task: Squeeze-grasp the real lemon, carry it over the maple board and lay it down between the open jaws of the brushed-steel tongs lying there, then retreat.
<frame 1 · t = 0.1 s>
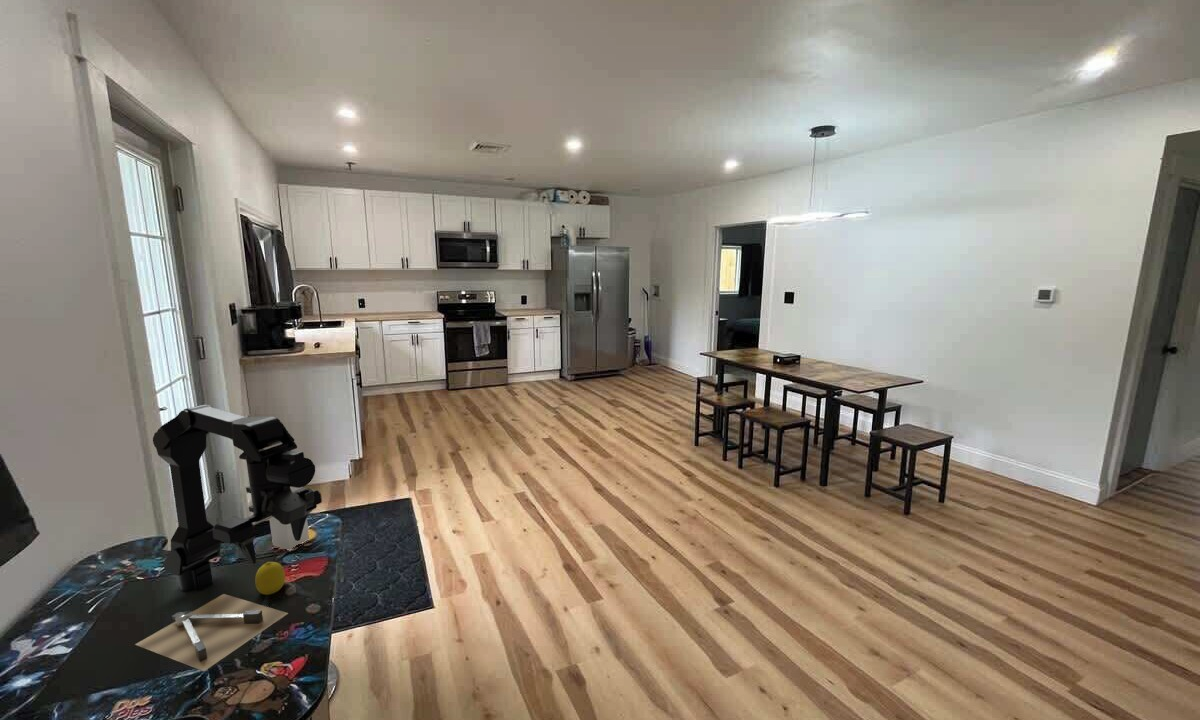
hand: (276, 551, 99), 14 cm above the table, fingers open, 9 cm apart
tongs: (184, 623, 98), resting on board
board: (215, 633, 96), on the table
lemon: (272, 595, 108), on the table
milk: (291, 544, 130), on the table
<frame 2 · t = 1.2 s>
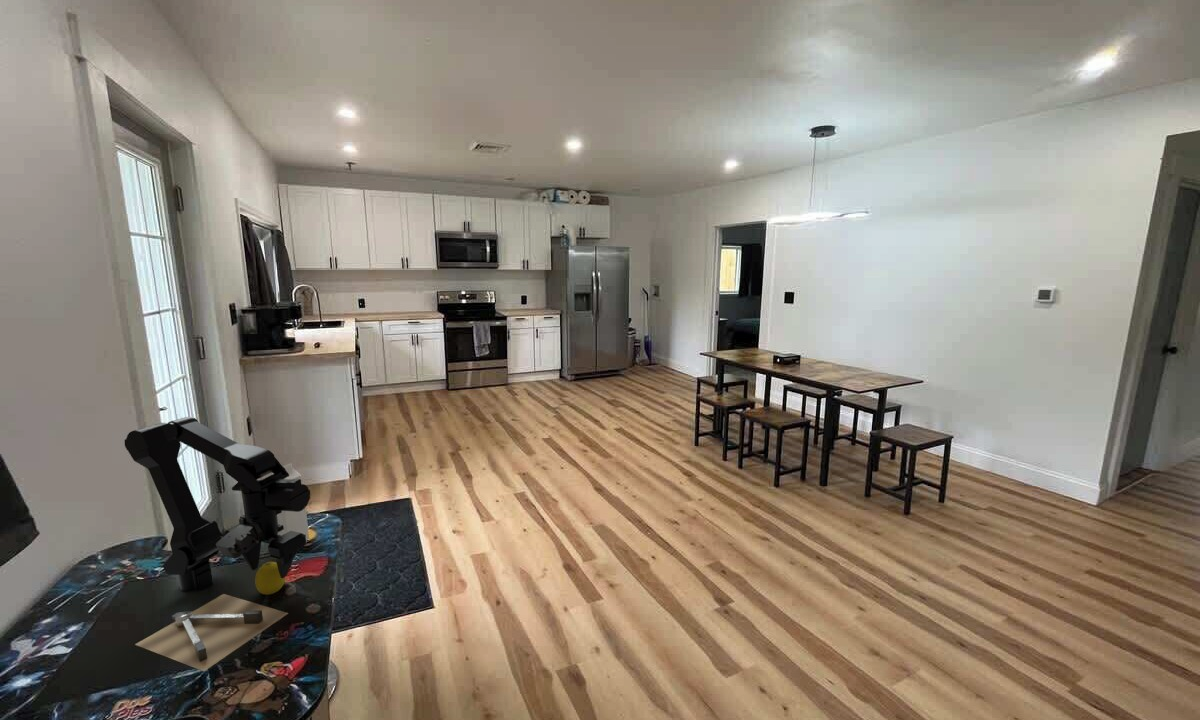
hand: (269, 573, 108), 5 cm above the table, fingers open, 9 cm apart
nothing on the table moved.
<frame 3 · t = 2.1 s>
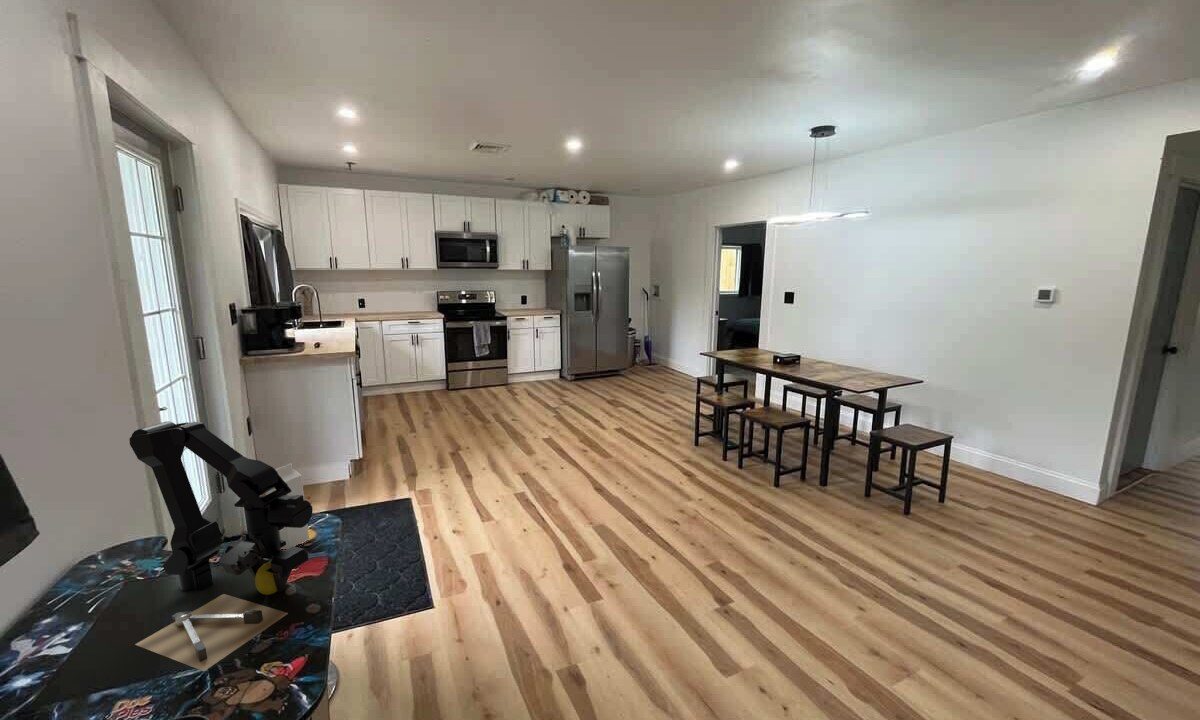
hand: (271, 588, 108), 2 cm above the table, fingers closed on lemon, 5 cm apart
lemon: (272, 595, 108), on the table, touching gripper
everything else where it was.
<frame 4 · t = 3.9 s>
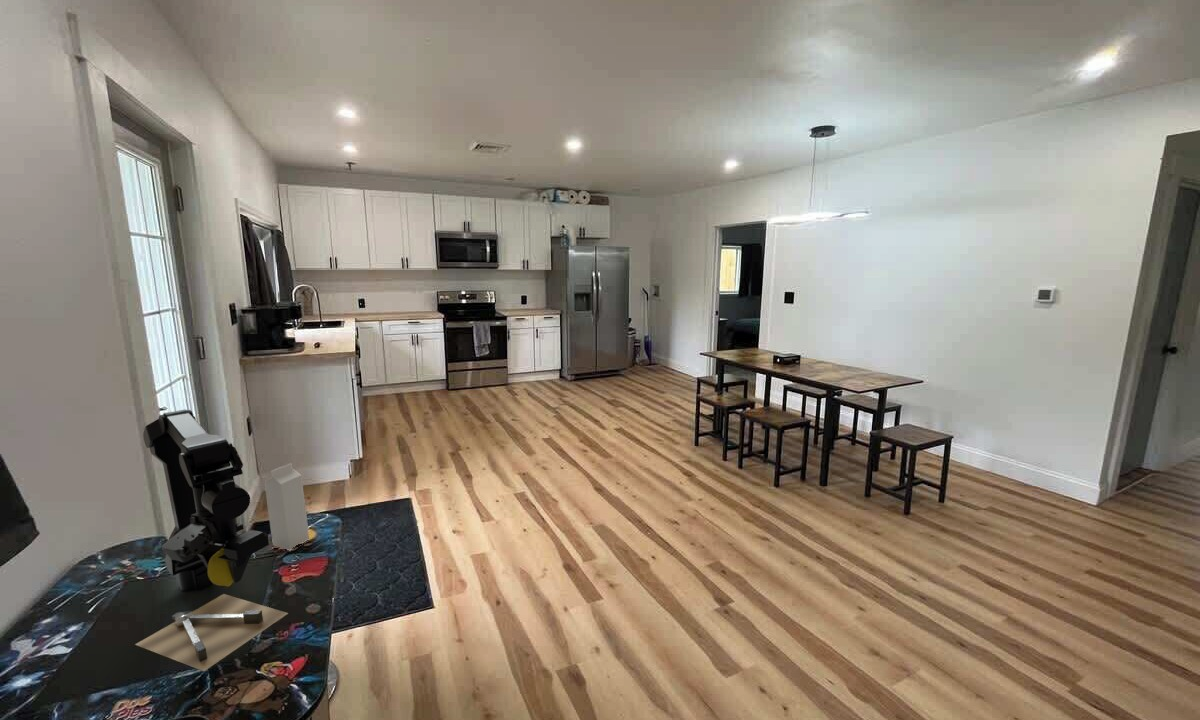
hand: (227, 579, 95), 12 cm above the table, fingers closed on lemon, 5 cm apart
lemon: (228, 586, 95), point 10 cm above the table, touching gripper
everything else where it was.
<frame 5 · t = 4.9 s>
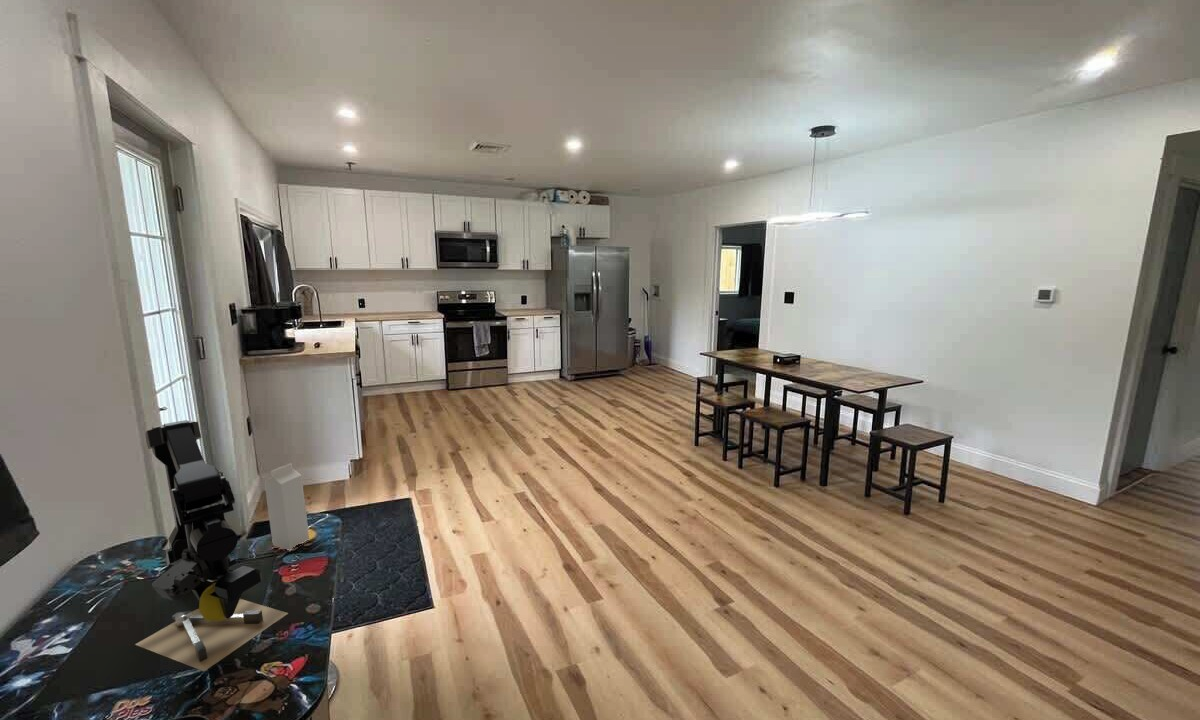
hand: (219, 613, 93), 6 cm above the table, fingers closed on lemon, 5 cm apart
lemon: (220, 621, 94), point 4 cm above the table, touching gripper
everything else where it was.
when the fingers open (4 cm above the table, at t = 5.7 s): lemon stays where it is, resting on board.
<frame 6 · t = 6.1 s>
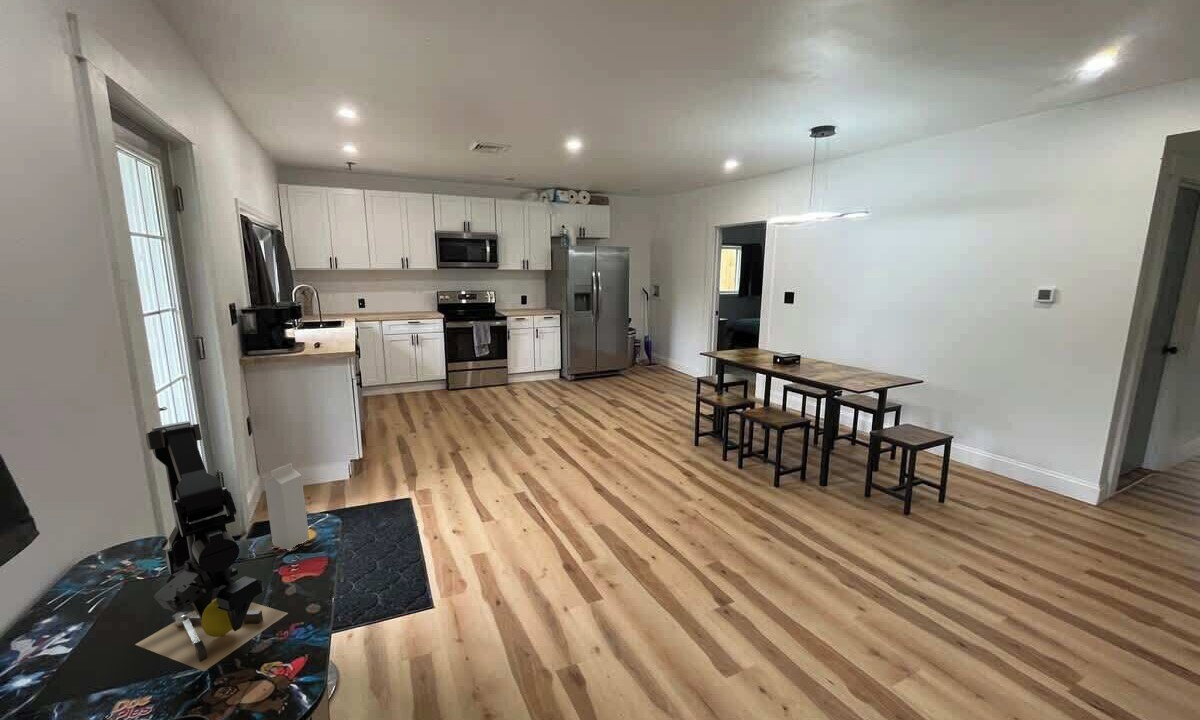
hand: (221, 624, 94), 4 cm above the table, fingers open, 9 cm apart
lemon: (223, 636, 94), point 1 cm above the table, touching board
everything else where it was.
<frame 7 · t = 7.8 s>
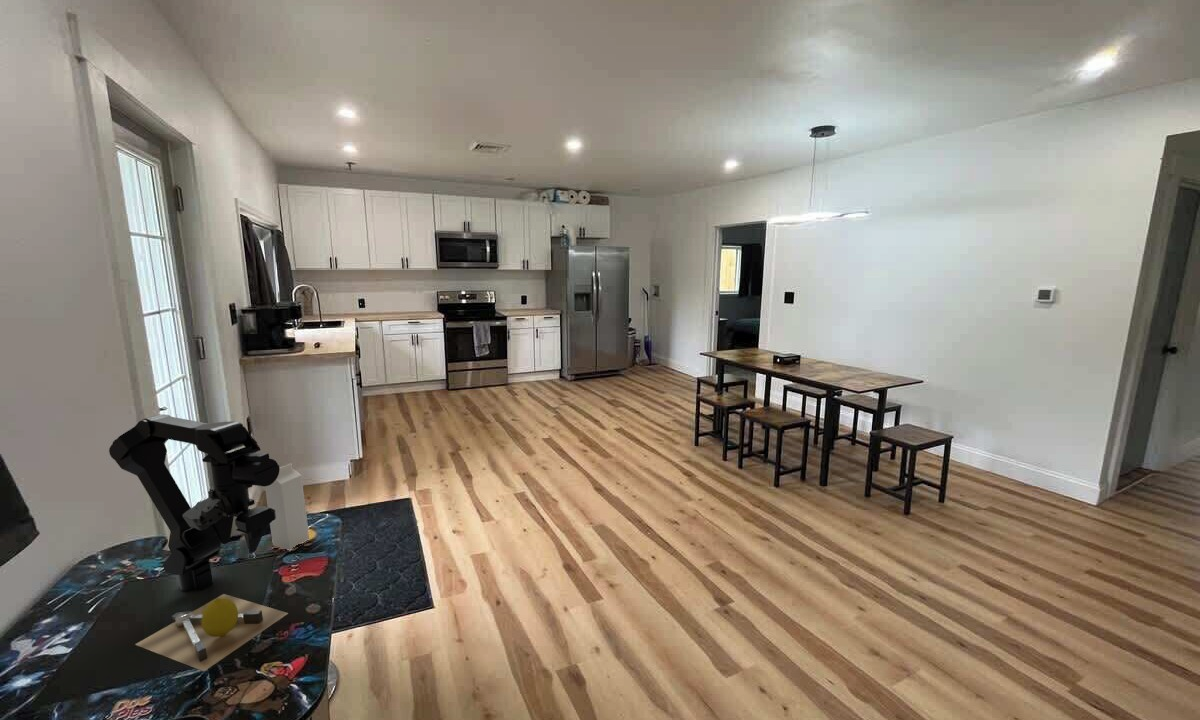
hand: (239, 547, 106), 12 cm above the table, fingers open, 9 cm apart
nothing on the table moved.
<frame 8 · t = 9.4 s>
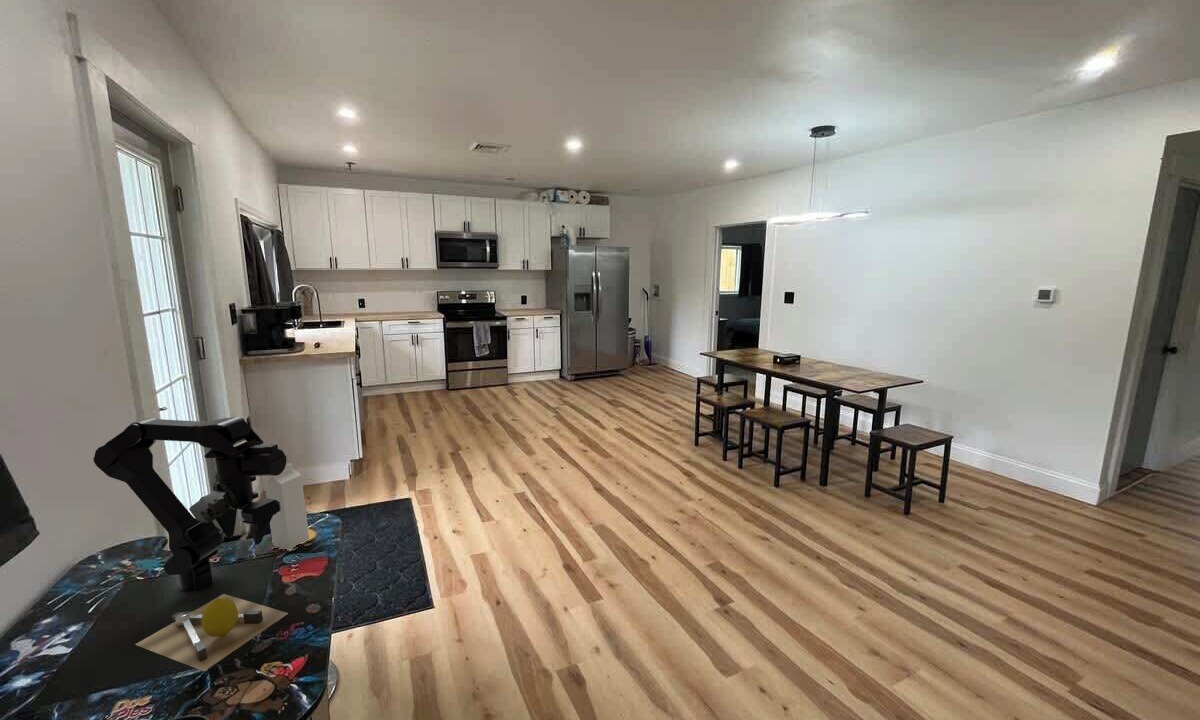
hand: (244, 540, 109), 12 cm above the table, fingers open, 9 cm apart
nothing on the table moved.
at the end: lemon inside the target area (0.4 cm from its centre), point 1.0 cm above the table; lemon touching board; the gripper is holding nothing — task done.
